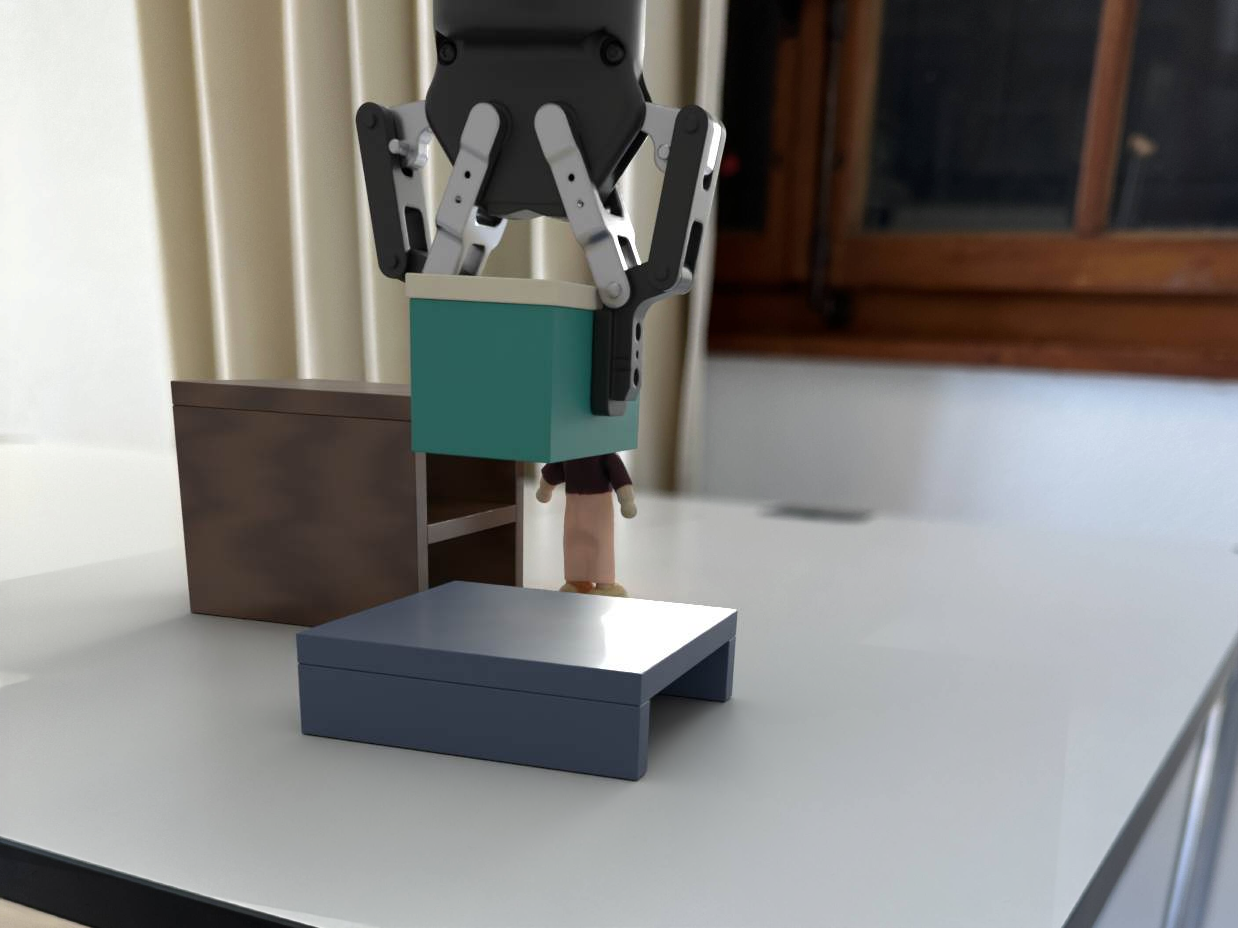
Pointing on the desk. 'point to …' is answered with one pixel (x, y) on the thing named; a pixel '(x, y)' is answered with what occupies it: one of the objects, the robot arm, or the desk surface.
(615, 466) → the grandmother figurine
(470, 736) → the low shelf
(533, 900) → the desk surface
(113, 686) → the desk surface
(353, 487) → the high shelf
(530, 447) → the box
